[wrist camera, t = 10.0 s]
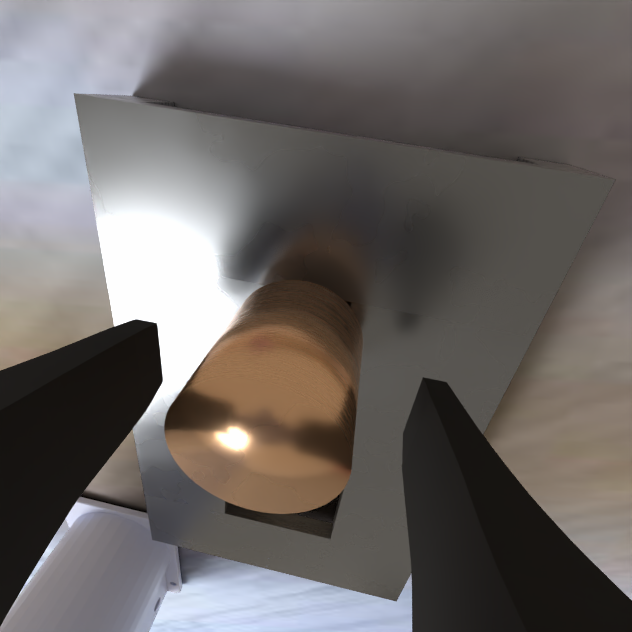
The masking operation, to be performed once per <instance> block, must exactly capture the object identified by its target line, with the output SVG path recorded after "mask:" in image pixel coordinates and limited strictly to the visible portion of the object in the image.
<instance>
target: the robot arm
mask: <svg viewBox="0 0 632 632" xmlns="http://www.w3.org/2000/svg"><path fill="white" fill-rule="evenodd" d="M162 383H163V373H162V363H161V354H160V344H159V334H158V324H157V323H154V322H150V321H145V320H140V319H134V320H131V321H128V322H125V323H122V324H120V325H117V326H114V327H112V328H109V329H107V330H104V331H102V332H99V333H97V334H95V335H92V336H90V337H87V338H85V339H82V340H80V341H77V342H75V343H72V344H70V345H67V346H65V347H62V348H60V349H57V350H55V351H52V352H50V353H47V354H44V355H42V356H39V357H36V358H34V359H31V360H28V361H26V362H23V363H20V364H17V365H15V366H12V367H9V368H7V369H4V370H1V371H0V632H149V630H150V628H151V626H152V624H153V621H154V619H155V617H156V615H157V612H158V610H159V608H160V606H161V604H162V601H163V599H164V597H165V595H166V592H167V591H169V592H173V593H179V592H180V591H181V589H182V580H181V572H180V563H179V554H178V546H175V545H171V544H167V543H163V542H159V541H155V540H152V536H151V530H150V524H149V519H148V513H145V512H141V511H136V510H132V509H128V508H124V507H120V506H116V505H112V504H108V503H104V502H100V501H96V500H92V499H88V498H84V497H80V496H81V494H82V493H83V492H84V490H85V489H86V488H87V486H88V485H89V483H90V482H91V481H92V480H93V478H94V477H95V476H96V475H97V473H98V472H99V471H100V470H101V468H102V467H103V466H104V464H105V463H106V462H107V461H108V459H109V458H110V457H111V456H112V454H113V453H114V452H115V450H116V449H117V448H118V447H119V445H120V444H121V443H122V442H123V440H124V439H125V438H126V437H127V435H128V434H129V433H130V431H131V430H132V429H133V427H134V426H135V425H136V424H137V422H138V421H139V420H140V418H141V417H142V416H143V414H144V413H145V412H146V410H147V408H148V407H149V405H150V403H151V402H152V400H153V399H154V397H155V395H156V393H157V391H158V390H159V388H160V386H161V384H162ZM402 475H403V486H404V497H405V507H406V517H407V527H408V537H409V548H410V558H411V573H412V632H632V600H631V599H630V598H629V597H627V596H626V595H625V594H624V593H623V592H622V591H621V590H620V589H619V588H618V587H617V586H616V585H615V584H614V583H613V582H612V581H611V580H610V579H609V578H608V577H607V576H606V575H605V574H604V573H603V572H602V571H601V570H600V569H599V568H598V567H597V566H596V565H595V564H594V563H593V562H592V561H591V560H589V558H588V557H587V556H586V555H585V554H584V553H583V552H582V551H581V550H580V549H579V548H578V547H577V546H576V545H575V544H574V543H573V542H572V541H571V540H570V539H569V538H568V537H567V536H566V535H565V533H564V532H563V531H562V530H561V529H560V528H559V527H558V526H557V525H556V524H555V523H554V521H553V520H552V519H551V518H550V517H549V516H548V515H547V514H546V513H545V512H544V511H543V509H542V508H541V507H540V506H539V505H538V504H537V503H536V501H535V500H534V499H533V498H532V497H531V496H530V495H529V493H528V492H527V491H526V490H525V488H524V487H523V486H522V485H521V484H520V482H519V481H518V480H517V479H516V477H515V476H514V475H513V474H512V472H511V471H510V470H509V469H508V467H507V466H506V465H505V464H504V462H503V461H502V460H501V458H500V457H499V456H498V455H497V453H496V452H495V451H494V449H493V448H492V446H491V445H490V444H489V442H488V441H487V440H486V438H485V437H484V435H483V434H482V433H481V431H480V430H479V428H478V427H477V426H476V424H475V423H474V421H473V420H472V418H471V417H470V415H469V414H468V413H467V411H466V410H465V408H464V407H463V405H462V404H461V402H460V401H459V399H458V398H457V396H456V395H455V393H454V392H453V390H452V389H451V387H450V386H449V385H448V383H447V382H444V381H439V380H434V379H429V378H424V377H423V378H422V381H421V384H420V387H419V389H418V392H417V395H416V398H415V401H414V403H413V406H412V409H411V412H410V415H409V417H408V420H407V423H406V426H405V429H404V431H403V448H402ZM65 518H66V521H67V523H68V526H69V530H68V531H67V532H66V534H65V535H64V536H63V538H62V539H61V540H60V542H59V543H58V544H57V546H56V547H55V548H54V550H53V551H52V552H51V554H50V555H49V556H48V558H47V559H46V560H45V562H44V563H43V564H42V566H41V567H40V568H39V570H38V571H37V573H36V574H35V575H34V577H33V578H32V579H31V581H30V582H29V583H28V585H27V586H26V587H25V589H24V590H23V591H22V593H21V594H20V595H19V593H20V591H21V590H22V588H23V586H24V584H25V583H26V581H27V579H28V578H29V576H30V574H31V573H32V571H33V570H34V568H35V566H36V565H37V563H38V561H39V560H40V558H41V556H42V555H43V553H44V552H45V550H46V548H47V547H48V545H49V543H50V542H51V540H52V539H53V537H54V535H55V534H56V532H57V531H58V529H59V528H60V526H61V525H62V523H63V521H64V520H65ZM18 595H19V597H18ZM17 597H18V598H17ZM16 598H17V599H16ZM15 600H16V601H15Z"/></svg>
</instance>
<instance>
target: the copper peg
mask: <svg viewBox="0 0 632 632" xmlns="http://www.w3.org/2000/svg"><path fill="white" fill-rule="evenodd" d="M350 306H351V302H349V301H344V300H343V299H342V298H340V297H339V296H338V295H336V294H335V293H333V292H332V291H330V290H328V289H327V288H324V287H322V286H320V285H317V284H314V283H311V282H306V281H301V280H282V281H277V282H273V283H270V284H267V285H265V286H263V287H261V288H259V289H257V290H256V291H254V292H253V293H252V294H251V295H250V296H249V297H248V298H247V299H246V300H245V302H244V303H243V304H242V306H241V307H240V308H239V310H238V311H237V313H236V314H235V315H234V317H233V318H232V320H231V321H230V322H229V324H228V325H227V327H226V328H225V330H224V331H223V332H222V334H221V335H220V337H219V338H218V339H217V341H216V342H215V344H214V345H213V346H212V348H211V349H210V351H209V352H208V353H207V355H206V356H205V358H204V359H203V360H202V362H201V363H200V365H199V366H198V367H197V369H196V370H195V372H194V373H193V374H192V376H191V377H190V379H189V380H188V382H187V383H186V384H185V386H184V387H183V389H182V390H181V391H180V393H179V394H178V396H177V397H176V398H175V400H174V401H173V403H172V404H171V405H170V407H169V409H168V411H167V414H166V418H165V423H164V433H165V439H166V443H167V446H168V448H169V451H170V453H171V455H172V457H173V458H174V460H175V461H176V463H177V464H178V465H179V467H180V468H181V469H182V471H183V472H184V473H185V474H186V475H187V476H188V477H189V478H190V479H192V480H193V481H194V482H195V483H196V484H198V485H199V486H200V487H202V488H203V489H205V490H206V491H208V492H209V493H211V494H213V495H214V496H216V497H218V498H220V499H222V500H224V501H226V502H229V503H231V504H234V505H236V506H239V507H243V508H246V509H250V510H254V511H258V512H265V513H275V514H291V513H300V512H305V511H310V510H313V509H316V508H319V507H321V506H323V505H325V504H327V503H329V502H330V501H332V500H333V499H334V498H336V497H337V496H338V495H339V494H340V493H341V492H342V490H343V489H344V488H345V486H346V484H347V482H348V480H349V478H350V474H351V469H352V458H353V447H354V436H355V425H356V414H357V403H358V392H359V381H360V370H361V359H362V349H363V335H362V330H361V326H360V324H359V321H358V319H357V317H356V315H355V314H354V312H353V311H352V309H351V308H350Z"/></svg>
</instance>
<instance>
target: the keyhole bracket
mask: <svg viewBox="0 0 632 632" xmlns="http://www.w3.org/2000/svg"><path fill="white" fill-rule="evenodd" d="M74 97H75V103H76V109H77V114H78V120H79V126H80V131H81V137H82V143H83V149H84V154H85V160H86V166H87V171H88V177H89V183H90V188H91V194H92V200H93V205H94V211H95V217H96V223H97V228H98V234H99V240H100V245H101V251H102V257H103V262H104V268H105V274H106V279H107V285H108V291H109V297H110V302H111V308H112V314H113V319H114V325H115V326H117V325H120V324H122V323H125V322H128V321H131V320H134V319H140V320H145V321H150V322H154V323H157V324H158V334H159V344H160V354H161V363H162V373H163V383H162V384H161V386H160V388H159V390H158V391H157V393H156V395H155V397H154V399H153V400H152V402H151V403H150V405H149V407H148V408H147V410H146V412H145V413H144V414H143V416H142V417H141V418H140V420H139V421H138V422H137V424H136V425H135V426H134V427H133V433H134V439H135V445H136V450H137V456H138V462H139V467H140V473H141V479H142V484H143V490H144V496H145V502H146V507H147V513H148V519H149V524H150V530H151V536H152V540H155V541H159V542H163V543H167V544H171V545H175V546H179V547H183V548H187V549H191V550H194V551H198V552H202V553H206V554H210V555H214V556H218V557H222V558H226V559H230V560H234V561H238V562H242V563H246V564H250V565H254V566H258V567H262V568H266V569H270V570H274V571H278V572H282V573H286V574H290V575H294V576H298V577H302V578H306V579H310V580H314V581H318V582H322V583H326V584H330V585H334V586H337V587H341V588H345V589H349V590H353V591H357V592H361V593H365V594H369V595H373V596H377V597H381V598H385V599H389V600H393V601H397V599H398V597H399V595H400V594H401V592H402V590H403V588H404V586H405V584H406V582H407V580H408V578H409V576H410V574H411V558H410V548H409V537H408V527H407V517H406V507H405V497H404V486H403V475H402V448H403V431H404V429H405V426H406V423H407V420H408V417H409V415H410V412H411V409H412V406H413V403H414V401H415V398H416V395H417V392H418V389H419V387H420V384H421V381H422V378H423V377H424V378H429V379H434V380H439V381H444V382H447V383H448V385H449V386H450V387H451V389H452V390H453V392H454V393H455V395H456V396H457V398H458V399H459V401H460V402H461V404H462V405H463V407H464V408H465V410H466V411H467V413H468V414H469V415H470V417H471V418H472V420H473V421H474V423H475V424H476V426H477V427H478V428H479V430H480V431H481V433H482V434H484V432H485V430H486V428H487V426H488V424H489V422H490V420H491V418H492V416H493V415H494V413H495V411H496V409H497V407H498V405H499V403H500V401H501V399H502V397H503V395H504V393H505V391H506V390H507V388H508V386H509V384H510V382H511V380H512V378H513V376H514V374H515V372H516V370H517V368H518V366H519V365H520V363H521V361H522V359H523V357H524V355H525V353H526V351H527V349H528V347H529V345H530V343H531V341H532V340H533V338H534V336H535V334H536V332H537V330H538V328H539V326H540V324H541V322H542V320H543V318H544V316H545V315H546V313H547V311H548V309H549V307H550V305H551V303H552V301H553V299H554V297H555V295H556V293H557V291H558V289H559V288H560V286H561V284H562V282H563V280H564V278H565V276H566V274H567V272H568V270H569V268H570V266H571V264H572V263H573V261H574V259H575V257H576V255H577V253H578V251H579V249H580V247H581V245H582V243H583V241H584V239H585V238H586V236H587V234H588V232H589V230H590V228H591V226H592V224H593V222H594V220H595V218H596V216H597V214H598V213H599V211H600V209H601V207H602V205H603V203H604V201H605V199H606V197H607V195H608V193H609V191H610V189H611V187H612V186H613V184H614V182H615V180H616V179H612V178H609V177H606V176H603V175H600V174H597V173H594V172H591V171H587V170H584V169H581V168H578V167H575V166H572V165H568V164H561V163H555V162H549V161H542V160H536V159H530V158H523V157H518V160H517V161H512V160H506V159H500V158H493V157H487V156H481V155H474V154H468V153H462V152H455V151H449V150H443V149H436V148H430V147H424V146H418V145H411V144H405V143H399V142H392V141H386V140H380V139H373V138H367V137H361V136H354V135H348V134H342V133H335V132H329V131H323V130H317V129H310V128H304V127H298V126H291V125H285V124H279V123H272V122H266V121H260V120H253V119H247V118H241V117H234V116H228V115H222V114H216V113H209V112H203V111H197V110H190V109H184V108H178V107H175V105H174V102H168V101H161V100H155V99H149V98H142V97H136V96H125V95H100V94H75V93H74ZM282 280H301V281H306V282H311V283H314V284H317V285H320V286H322V287H324V288H327V289H328V290H330V291H332V292H333V293H335V294H336V295H338V296H339V297H340V298H342V299H343V300H344V301H349V302H351V306H350V308H351V309H352V311H353V312H354V314H355V315H356V317H357V319H358V321H359V324H360V326H361V330H362V335H363V349H362V359H361V370H360V381H359V392H358V403H357V414H356V425H355V436H354V447H353V458H352V469H351V474H350V478H349V480H348V482H347V484H346V486H345V488H344V489H343V490H342V492H341V493H340V497H339V501H338V504H337V508H336V512H335V515H334V519H333V523H329V522H324V521H320V520H316V519H312V518H308V517H303V516H299V515H295V514H275V513H265V512H258V511H254V510H250V509H246V508H243V507H239V506H236V505H234V504H231V503H229V502H226V501H224V500H222V499H220V498H218V497H216V496H214V495H213V494H211V493H209V492H208V491H206V490H205V489H203V488H202V487H200V486H199V485H198V484H196V483H195V482H194V481H193V480H192V479H190V478H189V477H188V476H187V475H186V474H185V473H184V472H183V471H182V469H181V468H180V467H179V465H178V464H177V463H176V461H175V460H174V458H173V457H172V455H171V453H170V451H169V448H168V446H167V443H166V439H165V433H164V423H165V418H166V414H167V411H168V409H169V407H170V405H171V404H172V403H173V401H174V400H175V398H176V397H177V396H178V394H179V393H180V391H181V390H182V389H183V387H184V386H185V384H186V383H187V382H188V380H189V379H190V377H191V376H192V374H193V373H194V372H195V370H196V369H197V367H198V366H199V365H200V363H201V362H202V360H203V359H204V358H205V356H206V355H207V353H208V352H209V351H210V349H211V348H212V346H213V345H214V344H215V342H216V341H217V339H218V338H219V337H220V335H221V334H222V332H223V331H224V330H225V328H226V327H227V325H228V324H229V322H230V321H231V320H232V318H233V317H234V315H235V314H236V313H237V311H238V310H239V308H240V307H241V306H242V304H243V303H244V302H245V300H246V299H247V298H248V297H249V296H250V295H251V294H252V293H253V292H254V291H256V290H257V289H259V288H261V287H263V286H265V285H267V284H270V283H273V282H277V281H282Z"/></svg>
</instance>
